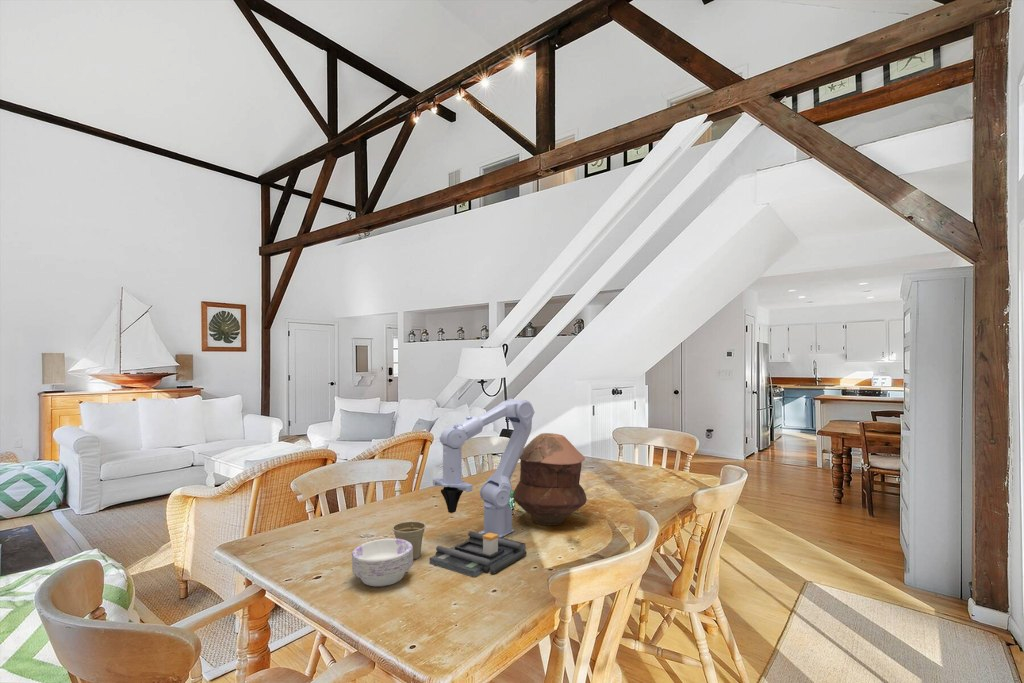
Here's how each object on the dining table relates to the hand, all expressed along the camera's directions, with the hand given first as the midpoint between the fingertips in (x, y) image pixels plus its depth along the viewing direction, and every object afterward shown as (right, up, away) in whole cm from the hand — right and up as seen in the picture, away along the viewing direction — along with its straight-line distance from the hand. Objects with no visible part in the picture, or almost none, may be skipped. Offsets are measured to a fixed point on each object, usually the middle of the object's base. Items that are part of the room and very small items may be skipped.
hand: (452, 512), depth 155 cm
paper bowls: (-15, -9, -25) cm, 31 cm away
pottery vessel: (+31, -10, +21) cm, 39 cm away
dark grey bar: (+13, -9, -4) cm, 17 cm away
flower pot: (-11, -9, -11) cm, 18 cm away
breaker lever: (+12, -7, -12) cm, 19 cm away
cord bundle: (+9, -9, -11) cm, 17 cm away
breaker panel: (+9, -9, -10) cm, 16 cm away
